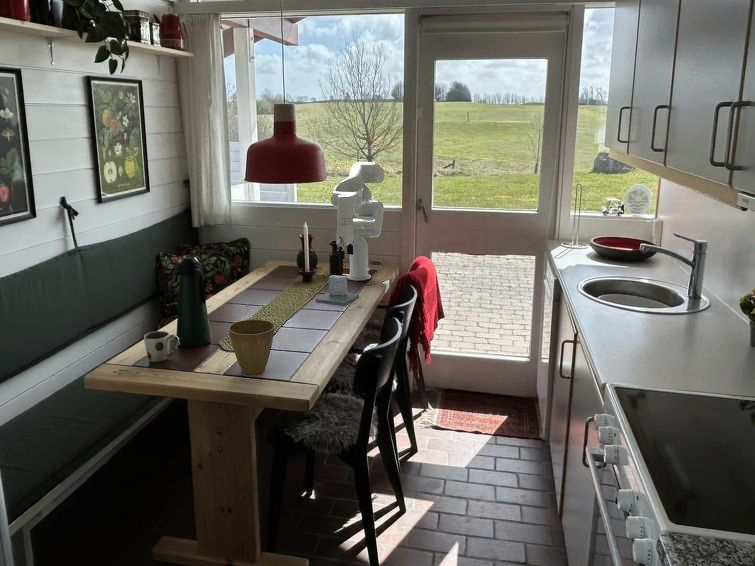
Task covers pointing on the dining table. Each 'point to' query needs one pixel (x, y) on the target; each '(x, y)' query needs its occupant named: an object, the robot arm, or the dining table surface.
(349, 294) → the plate
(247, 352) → the plant pot
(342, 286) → the medicine box
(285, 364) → the dining table surface
